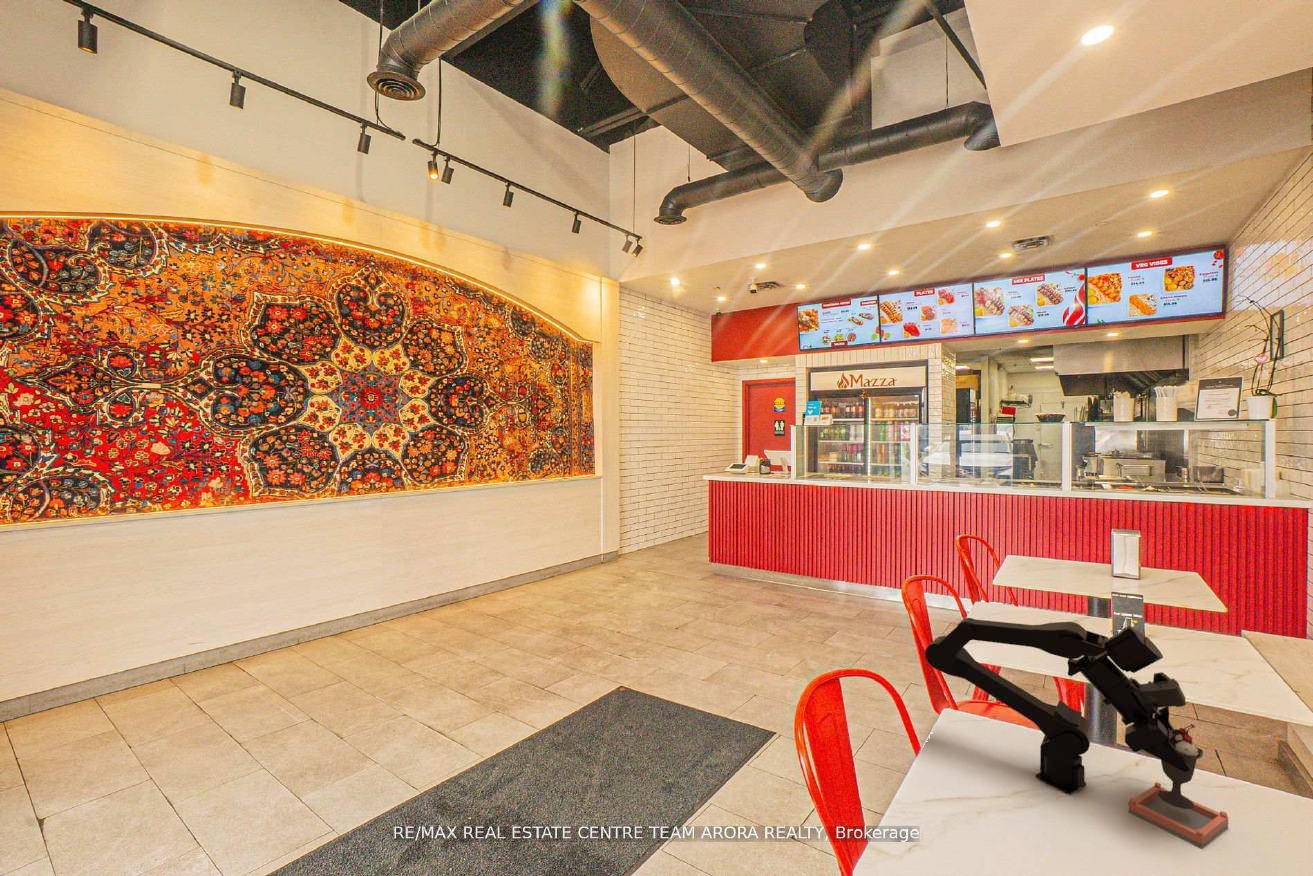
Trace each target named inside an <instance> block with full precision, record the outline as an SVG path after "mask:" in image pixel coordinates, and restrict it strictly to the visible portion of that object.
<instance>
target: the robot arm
mask: <svg viewBox="0 0 1313 876" xmlns="http://www.w3.org/2000/svg"><path fill="white" fill-rule="evenodd" d="M971 641H979V642H985V643H986V642H987V643H996V644H1005V645H1013V646H1021V647H1028V648H1029V647H1030V648H1034V649H1037V650H1038V649H1039V650H1041V651H1043V652H1045V653H1048V654H1049V655H1054V656H1056V657H1061V658H1065V659H1067V662H1066V663H1067V667H1068V668H1067V669H1068V671H1067V676H1069V677H1073V676H1074V675H1076V674H1079V673H1081V675H1082V676H1083V677H1084V678H1085V679H1086V680H1087V681H1088V682H1089V683H1090V685H1092V686H1093V687H1094V688H1095V689H1096V690H1097V692H1098V693H1100V695H1101V696H1102V701H1103V703H1104V704H1105V705H1106V706H1108V705H1111V706H1112V707H1113V709H1114V710H1115V711H1116V712H1117V713H1118V714H1119V715H1120V717H1121V722H1122V723H1123V724H1124V725H1125V726H1126V727H1125V734H1124V743H1125V744H1126V745H1127V747H1128V748H1130V750H1132V751H1133V753H1137V752H1139V751H1144V752H1145V753H1148V754H1150V755H1151V756H1154V757H1156V758H1158V759H1160V761H1161V760H1163V761H1165V762H1167V763H1169V764H1171V765H1173V766H1174V767H1176V768H1178V769H1180V770H1182V771H1184V772H1188V771H1190V770H1191V769H1190V767H1189V766H1188V764H1187V763H1186V761H1185V760H1184V759H1183V757H1182V756H1181V755H1180V753H1179V752H1178V751H1177V749H1176V748H1175V747H1174V745H1173V744H1172V743H1171V741H1170V740H1169V737H1170V730H1174V729H1175V728H1174V727H1173V725H1172V724H1171V721H1170V707H1176V708H1179V707H1180V708H1181V707H1184V706H1186V705H1187V702H1186V699H1187V698H1186V697H1185V696H1186V695H1185V694H1184V692H1183V690H1182V688H1181V686H1180V683H1179V682H1178V681H1177V680H1176V679H1175V678H1170V677H1169V676H1168V675H1167V674H1165V673H1164V672H1163V671H1162V672H1154V673H1153V678H1152V681H1151V680H1150V681H1148V682H1147V683H1140V682H1139V681H1138V680H1137V679H1136V678H1133V677H1130V678H1129V677H1128V676H1127V675H1126V674H1125V673H1124V672H1126V673H1129V672H1130V673H1133V674H1135V673H1137V672H1139V671H1141V670H1142V669H1145V668H1146V667H1149V666H1150V665H1152V664H1154V663H1156V662H1158V661H1160V660H1162V659H1163V658H1164V656H1163V654H1162V652H1161V651H1160V650H1159V648H1158V647H1157V646H1156V644H1154V642H1152V640H1151V639H1150V638H1149V637H1148V636H1145V635H1143V633H1141V632H1140V631H1138V630H1136V629H1135V628H1133V626H1132V625H1127V626H1126V627H1124V628H1123V629H1121V631H1119V632H1117V633H1115V634H1114V635H1112V636H1111V637H1109V636H1105V635H1104V634H1103V635H1102V634H1099V633H1096V632H1093V631H1089V630H1086V629H1085V628H1084V627H1083V626H1082V625H1081V624H1079V623H1077V622H1074V621H1060V622H1059V621H1058V622H1048V623H1042V624H1025V623H1015V622H1014V623H1013V622H1006V621H1005V622H1004V621H994V620H984V619H975V618H972V617H966V618H965V617H964V618H963V619H962V620H961V621H960V622H959V623H958V624H957V625H956V627H955V628H954V629H953V630H952V631H950V632H949V633H948V634H947V635H940V636H938V637H935V639H934V640H933V641H932V642H931V643H929V644H928V645H927V647H926V648H925V651H924V654H925V655H924V656H925V659H926V662H927V664H928V665H929V666H930V667H931V668H933V669H935V670H937V671H938V672H939V671H940V672H941V673H944V674H946V675H949V676H951V677H957V678H960V679H963V680H966V681H967V682H969V683H971V684H972V685H974V686H975V687H977V688H979V689H980V690H982V691H983V692H985V693H986V694H988V695H990V696H991V697H992V698H995V699H996V700H998V701H999V702H1000V703H1002V704H1004V705H1005V706H1007V707H1009V708H1010V709H1012V710H1013V711H1015V712H1016V713H1017V714H1019V715H1022V716H1023V717H1024V718H1025V719H1027V720H1029V721H1031V722H1032V723H1033V724H1035V726H1037V728H1038V729H1039V730H1040V731H1041V732H1042V733H1043V735H1044V736H1043V738H1042V741H1041V744H1040V751H1039V752H1040V757H1039V759H1040V760H1039V762H1040V763H1039V764H1040V765H1039V772H1038V773H1036V774H1035V778H1036V779H1038V780H1040V781H1042V782H1044V783H1045V784H1047V785H1049V786H1052V787H1053V788H1056V789H1057V790H1060V791H1061V792H1063V793H1066V794H1068V795H1071V794H1073V793H1075V792H1077V791H1078V790H1080V789H1081V788H1083V787H1085V786H1087V782H1086V781H1085V768H1086V767H1085V765H1084V764H1083V757H1082V755H1083V754H1086V753H1087V751H1089V748H1090V746H1091V745H1090V744H1091V740H1092V736H1093V728H1092V726H1091V724H1090V721H1088V720H1087V718H1085V717H1084V716H1083V715H1082V714H1083V712H1082V711H1079V710H1075V709H1073V708H1071V707H1070V706H1069V705H1068V704H1066V703H1065V702H1064V701H1062V700H1058V702H1057V705H1054V704H1050V703H1046V702H1044V701H1042V700H1041V699H1039V698H1037V697H1036V696H1034V695H1032V694H1031V693H1029V692H1028V691H1026V690H1024V689H1023V688H1021V687H1020V686H1017V685H1016V684H1015V683H1013V682H1011V681H1009V680H1008V679H1007V678H1004V677H1003V676H1001V675H999V674H998V673H997V672H995V671H994V670H991V669H990V668H989V667H986V666H985V665H984V664H982V663H980V662H978V661H977V660H975V658H974V657H973V656H972V655H971V654H970V653H969V652H968V650H967V649H966V648H965V646H966V645H967V644H968V643H969V642H971ZM1132 723H1133V724H1132ZM1130 724H1131V725H1130ZM1128 725H1129V726H1128Z"/></svg>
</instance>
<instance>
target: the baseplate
mask: <svg viewBox="0 0 1313 876" xmlns="http://www.w3.org/2000/svg"><path fill="white" fill-rule="evenodd" d="M1160 791H1170V790H1168V789H1167V788H1164V787H1162V784H1161V783H1160V782H1156V781H1155V782H1154V785H1153V786H1151V787H1150V788H1147V790H1145V791H1143V792H1142V793H1140V794H1139V795H1137V796H1135V797H1130V798H1129V801H1128V813H1129V814H1131V815H1133V816H1135V817H1137V818H1139V819H1141V820H1143V821H1145V822H1146V823H1149V824H1151V825H1154V826H1155V827H1157V828H1159V829H1160V830H1164V831H1165V832H1167V833H1170V834H1171V835H1173V836H1175V837H1178V838H1180V839H1182V840H1184V841H1186V842H1188V843H1190V844H1192V845H1194V846H1195V847H1198V848H1200V849H1203V848H1204V849H1205V847H1206V846H1207V845H1208V844H1210V843H1211V842H1212V841H1213V840H1215V839H1216V838H1218V836H1220V835H1221V834H1222V833H1224V832H1225V831H1226V830H1228V828H1229V816H1228V813H1227V812H1225V811H1223V810H1220V811H1219V812H1218V811H1216V810H1214V809H1211V808H1209V807H1207V806H1205V805H1203V804H1200V803H1198V802H1196V801H1194V800H1191V801H1192V802H1193V804H1194V808H1192V809H1182V808H1178V807H1175V806H1173V805H1170V804H1168V803H1166V802H1165V801H1163V800H1162V799H1161V798H1160V797H1159V795H1158V793H1159V792H1160Z"/></svg>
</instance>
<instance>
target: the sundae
mask: <svg viewBox="0 0 1313 876" xmlns="http://www.w3.org/2000/svg"><path fill="white" fill-rule="evenodd" d="M1187 728H1188V729H1187ZM1193 728H1194V729H1195V728H1196V725H1194V724H1192V723H1190V725H1188V726H1186V727H1184V728H1183V727H1179V728H1178V729H1177V728H1176V729H1175V728H1174V730H1170V737H1169V740H1170V741H1171V743H1172V744H1173V745H1174V747H1175V748H1176V749H1177V751H1178V752H1179V753H1180V755H1181V756H1182V757H1183V759H1184V760H1185V761H1186V763H1187V764H1188V766H1189V767H1190V769H1191V770H1190V771H1188V772H1184V771H1182V770H1180V769H1178V768H1176V767H1174V766H1173V765H1171V764H1169V763H1167V762H1165V761H1163V760H1161V759H1160V761H1161V767H1162V770H1163V771H1162V772H1163V773H1164V774H1165V776H1166V777H1167V778H1168V779H1169V780H1171V781H1172V788H1171V790H1169V791H1160V792H1159V793H1158V795H1159V797H1160V798H1161V799H1162V800H1163V801H1165V802H1166V803H1168V804H1170V805H1173V806H1175V807H1178V808H1182V809H1192V808H1194V804H1193V802H1192V801H1193V800H1191V799H1190V798H1188V797H1186V796H1184V795H1182V790H1181V789H1182V785H1183V784H1186V783H1188V782H1190V781H1192V779H1193V776H1194V774H1195V768H1196V764H1197V760H1198V759H1199V760H1200V759H1201V758H1203V755H1204V751H1203V749H1201V748H1199V747H1197V745H1196V744H1195V742H1194V741H1193V737H1192V736H1191V735H1189V731H1190V730H1191V729H1193Z"/></svg>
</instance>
